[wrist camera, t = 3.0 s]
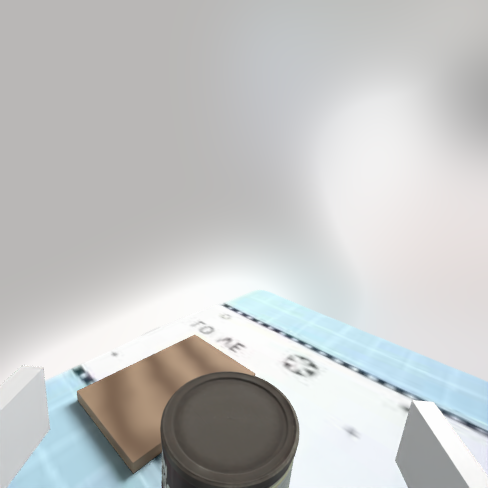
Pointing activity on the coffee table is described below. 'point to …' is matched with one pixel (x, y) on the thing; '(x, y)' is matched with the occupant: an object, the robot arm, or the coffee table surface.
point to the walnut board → (148, 396)
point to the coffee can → (228, 434)
